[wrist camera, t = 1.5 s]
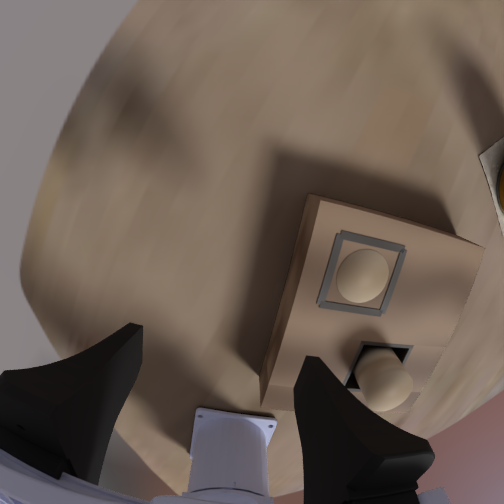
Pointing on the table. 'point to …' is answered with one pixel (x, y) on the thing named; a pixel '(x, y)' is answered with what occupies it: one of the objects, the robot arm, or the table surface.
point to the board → (366, 297)
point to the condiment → (495, 176)
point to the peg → (382, 378)
